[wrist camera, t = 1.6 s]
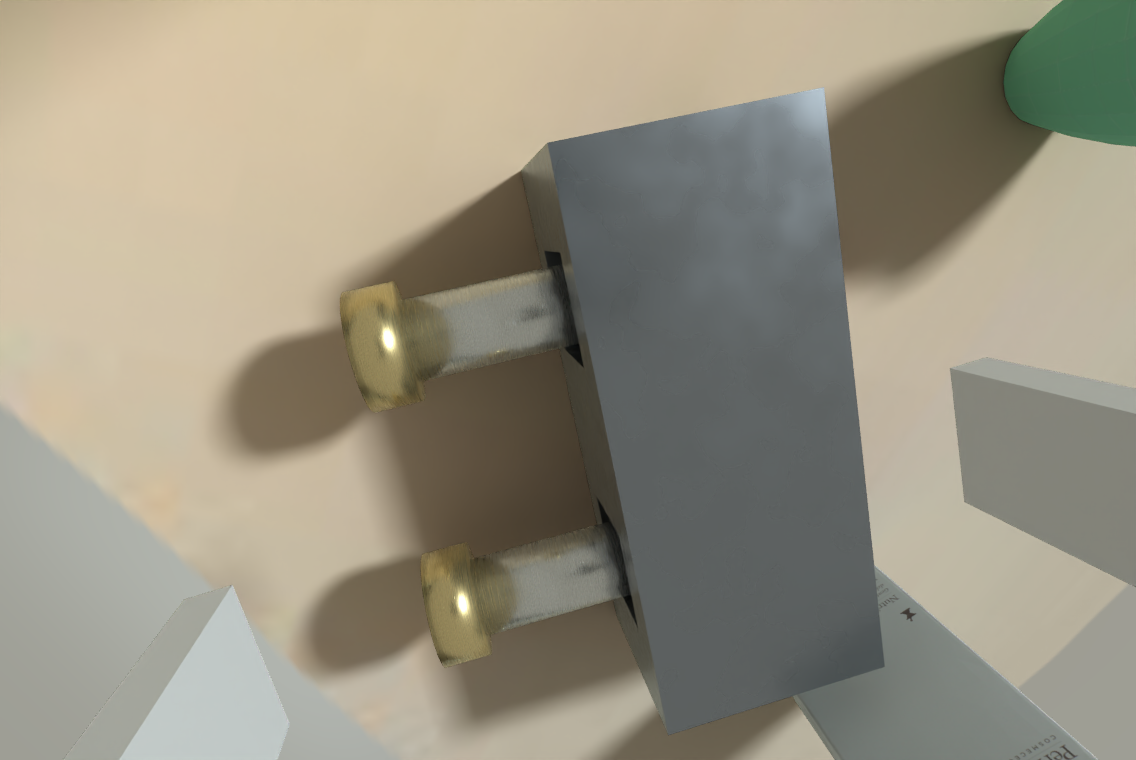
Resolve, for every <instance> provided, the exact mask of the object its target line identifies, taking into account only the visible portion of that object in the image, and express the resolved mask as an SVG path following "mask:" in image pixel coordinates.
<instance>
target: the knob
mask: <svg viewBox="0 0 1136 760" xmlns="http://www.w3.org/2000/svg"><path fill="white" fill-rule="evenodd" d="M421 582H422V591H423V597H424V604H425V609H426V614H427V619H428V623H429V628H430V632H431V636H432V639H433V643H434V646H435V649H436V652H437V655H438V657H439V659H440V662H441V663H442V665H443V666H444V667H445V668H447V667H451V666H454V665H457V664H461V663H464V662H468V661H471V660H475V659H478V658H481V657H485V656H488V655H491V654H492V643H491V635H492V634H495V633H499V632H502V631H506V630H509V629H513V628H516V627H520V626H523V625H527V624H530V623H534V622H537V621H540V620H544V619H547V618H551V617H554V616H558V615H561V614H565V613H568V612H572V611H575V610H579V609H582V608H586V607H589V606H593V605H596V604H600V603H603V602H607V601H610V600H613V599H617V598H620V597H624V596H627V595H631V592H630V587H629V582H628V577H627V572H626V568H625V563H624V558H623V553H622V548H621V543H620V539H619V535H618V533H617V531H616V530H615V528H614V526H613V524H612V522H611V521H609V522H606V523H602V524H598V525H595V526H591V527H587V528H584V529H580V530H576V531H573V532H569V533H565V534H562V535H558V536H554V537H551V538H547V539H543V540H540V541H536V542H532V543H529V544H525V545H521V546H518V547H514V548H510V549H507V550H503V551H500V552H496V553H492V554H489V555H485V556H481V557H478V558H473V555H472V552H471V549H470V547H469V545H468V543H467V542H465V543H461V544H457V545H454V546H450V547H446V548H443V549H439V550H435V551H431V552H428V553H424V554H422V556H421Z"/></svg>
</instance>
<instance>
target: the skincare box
mask: <svg viewBox="0 0 1136 760" xmlns="http://www.w3.org/2000/svg"><path fill="white" fill-rule="evenodd" d="M874 569H875V579H876V588H877V598H878V607H879V617H880V626H881V636H882V645H883V655H884V664H885V667H883V668H879V669H876V670H873V671H870V672H867V673H864V674H860V675H857V676H854V677H851V678H848V679H845V680H841V681H838V682H835V683H832V684H829V685H826V686H822V687H819V688H816V689H813V690H810V691H807V692H803V693H800V694H797V695H794V696H792V697H793V698H794V700H795V701H796V703H797V704H798V706H799V707H800V709H801V710H802V712H803V713H804V715H805V716H806V718H807V719H808V721H809V722H810V724H811V725H812V727H813V728H814V730H815V731H816V733H817V734H818V736H819V737H820V739H821V740H822V741H823V743H824V744H825V746H826V747H827V749H828V750H829V752H830V753H831V755H832V756H833V758H834V759H835V760H1098V759H1097V758H1096V757H1095V756H1094V755H1093V754H1092V753H1090V752H1089V751H1088V750H1087V749H1086V748H1085V747H1084V746H1083V745H1081V744H1080V743H1079V742H1078V741H1077V740H1076V739H1074V738H1073V737H1072V736H1071V735H1070V734H1069V733H1068V732H1067V731H1065V730H1064V729H1063V728H1062V727H1061V726H1060V725H1059V724H1057V723H1056V722H1055V721H1054V720H1053V719H1052V718H1051V717H1049V716H1048V715H1047V714H1046V713H1045V712H1044V711H1042V710H1041V709H1040V708H1039V707H1038V706H1037V705H1036V704H1034V703H1033V702H1032V701H1031V700H1030V699H1029V698H1028V697H1026V696H1025V695H1024V694H1023V693H1022V692H1021V691H1020V690H1018V689H1017V688H1016V687H1015V686H1014V685H1013V684H1011V683H1010V682H1009V681H1008V680H1007V679H1006V678H1005V677H1003V676H1002V675H1001V674H1000V673H999V672H998V671H996V670H995V669H994V668H993V667H992V666H991V665H989V664H988V663H987V662H986V661H985V660H984V659H983V658H982V657H980V656H979V655H978V654H977V653H976V652H975V651H973V650H972V649H971V648H970V647H969V646H967V645H966V644H965V643H964V642H963V641H962V640H961V639H959V638H958V637H957V636H956V635H955V634H954V633H952V632H951V631H950V630H949V629H948V628H947V627H945V626H944V625H943V624H942V623H941V622H940V621H939V620H938V619H936V618H935V617H934V616H933V615H932V614H931V613H930V612H928V611H927V610H926V609H925V608H924V607H923V606H922V605H920V604H919V603H918V602H917V601H916V600H915V599H913V598H912V597H911V596H910V595H909V594H908V593H907V592H905V591H904V590H903V589H902V588H901V587H900V586H899V585H897V584H896V583H895V582H894V581H893V580H892V579H890V578H889V577H888V576H887V575H886V574H884V573H883V572H882V571H881V570H880V569H879V568H877V567H876V566H875V565H874Z"/></svg>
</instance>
